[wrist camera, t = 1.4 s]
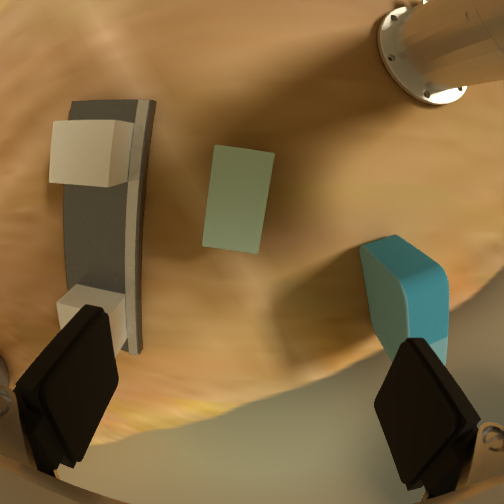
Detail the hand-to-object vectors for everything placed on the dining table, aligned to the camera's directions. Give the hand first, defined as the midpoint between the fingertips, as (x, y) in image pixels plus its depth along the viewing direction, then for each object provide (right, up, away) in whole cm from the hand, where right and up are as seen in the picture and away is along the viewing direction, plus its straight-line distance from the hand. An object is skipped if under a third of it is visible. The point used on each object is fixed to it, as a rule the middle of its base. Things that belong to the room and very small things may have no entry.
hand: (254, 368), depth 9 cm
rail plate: (-17, +6, +23) cm, 29 cm away
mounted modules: (-17, +5, +22) cm, 28 cm away
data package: (+15, 0, +25) cm, 30 cm away
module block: (-1, +10, +22) cm, 24 cm away
